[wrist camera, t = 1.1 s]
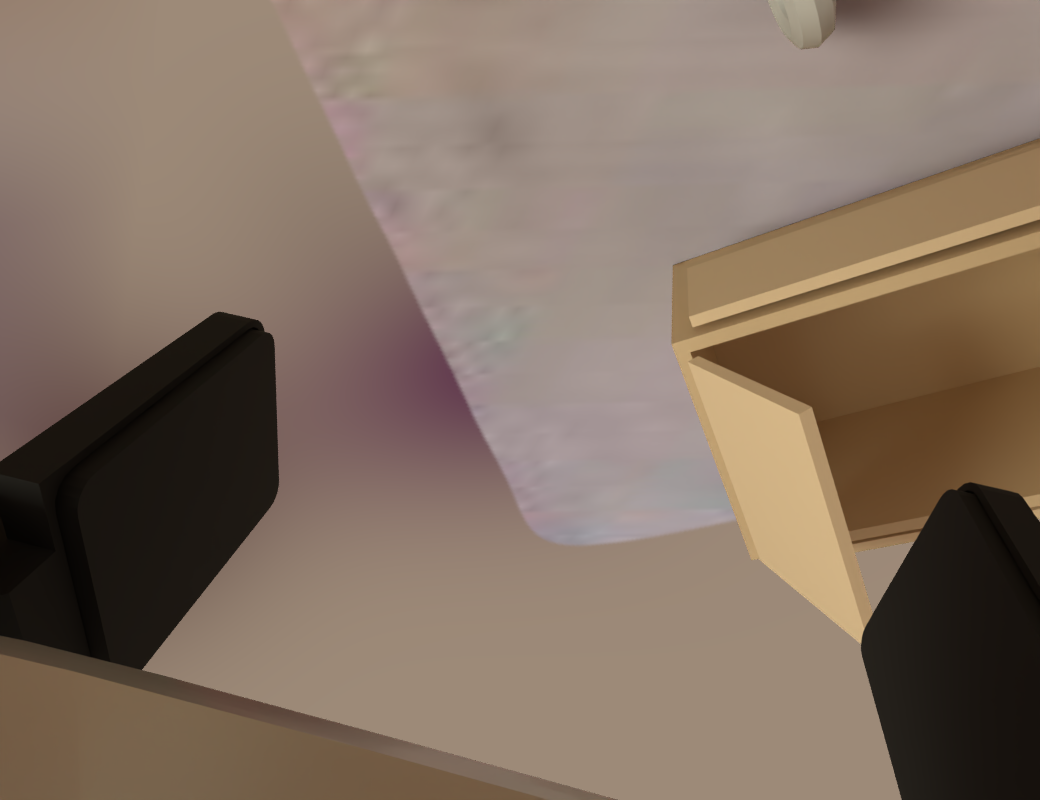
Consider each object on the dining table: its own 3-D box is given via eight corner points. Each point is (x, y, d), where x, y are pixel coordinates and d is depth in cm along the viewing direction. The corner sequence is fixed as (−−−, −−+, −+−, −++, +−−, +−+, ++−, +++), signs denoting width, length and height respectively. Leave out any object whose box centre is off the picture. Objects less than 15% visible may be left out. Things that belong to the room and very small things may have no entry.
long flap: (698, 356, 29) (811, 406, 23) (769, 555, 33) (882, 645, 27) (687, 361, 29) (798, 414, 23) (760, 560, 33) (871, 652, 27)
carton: (1066, 109, 31) (1211, 153, 23) (1095, 373, 37) (1222, 488, 28) (667, 250, 38) (665, 326, 29) (740, 458, 43) (756, 573, 35)
